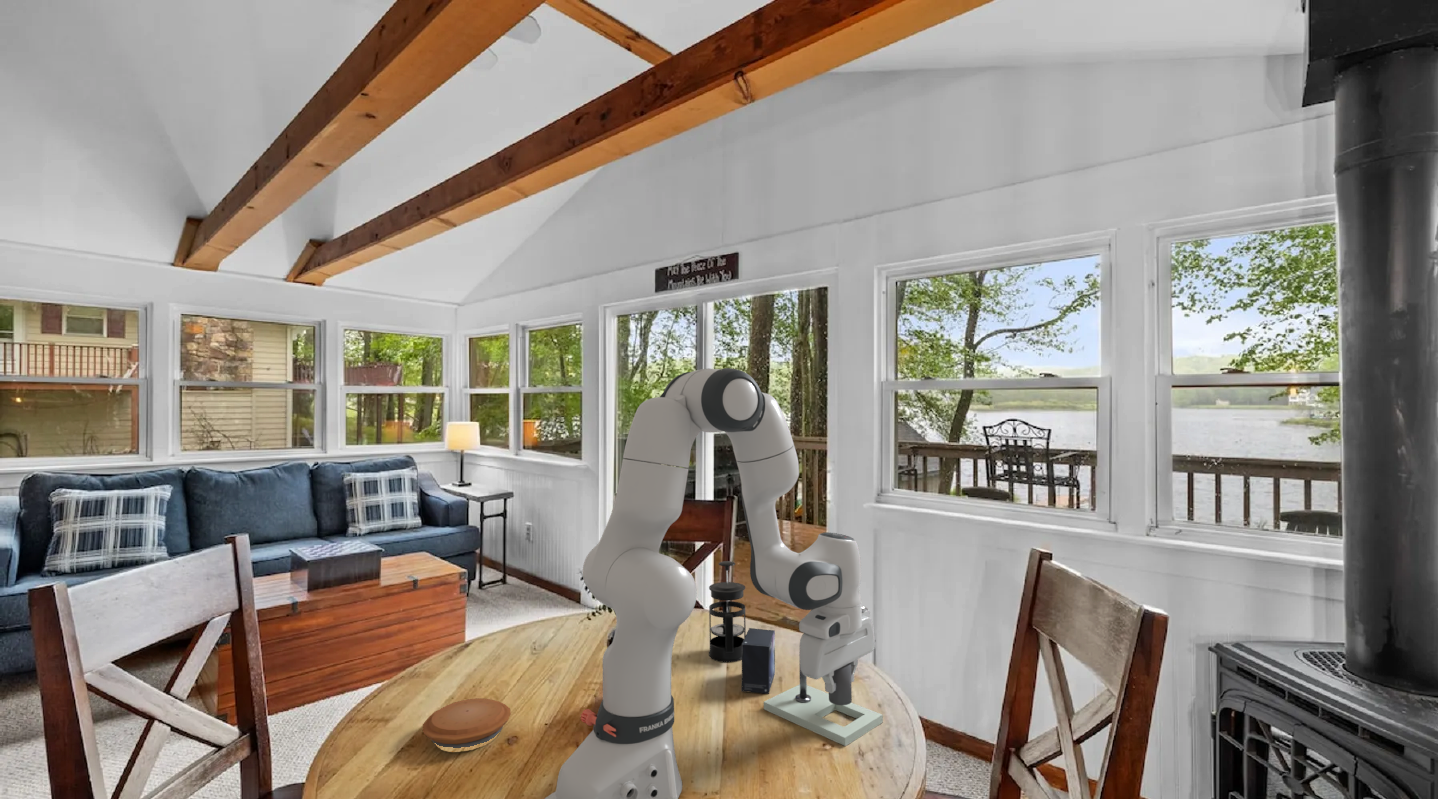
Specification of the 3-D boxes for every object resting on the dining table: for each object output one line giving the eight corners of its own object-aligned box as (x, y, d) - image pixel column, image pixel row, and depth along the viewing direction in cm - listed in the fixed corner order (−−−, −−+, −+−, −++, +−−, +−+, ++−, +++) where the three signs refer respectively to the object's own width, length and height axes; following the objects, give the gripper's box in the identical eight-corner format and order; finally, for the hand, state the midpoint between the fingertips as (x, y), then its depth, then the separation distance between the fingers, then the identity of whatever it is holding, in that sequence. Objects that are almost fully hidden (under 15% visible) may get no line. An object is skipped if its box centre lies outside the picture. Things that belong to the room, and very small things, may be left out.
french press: (708, 647, 165) (707, 557, 165) (744, 646, 166) (743, 556, 166) (709, 666, 154) (709, 569, 154) (749, 664, 154) (748, 568, 154)
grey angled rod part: (804, 704, 130) (804, 657, 130) (792, 699, 133) (791, 652, 133) (824, 694, 135) (823, 648, 135) (812, 689, 137) (811, 644, 137)
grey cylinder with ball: (824, 700, 126) (823, 661, 126) (837, 692, 129) (837, 655, 129) (843, 707, 123) (842, 668, 123) (856, 699, 126) (855, 661, 126)
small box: (770, 695, 138) (770, 645, 138) (740, 692, 139) (740, 643, 140) (776, 674, 148) (776, 628, 149) (748, 672, 150) (747, 627, 150)
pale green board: (845, 746, 117) (845, 737, 117) (763, 709, 132) (763, 701, 132) (882, 722, 126) (882, 714, 126) (802, 690, 140) (802, 683, 140)
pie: (508, 711, 132) (508, 687, 132) (513, 749, 117) (513, 721, 117) (425, 726, 126) (425, 700, 126) (419, 767, 112) (419, 738, 112)
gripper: (855, 600, 136) (856, 666, 136) (793, 625, 122) (794, 698, 122) (881, 607, 131) (883, 675, 131) (820, 633, 117) (821, 709, 117)
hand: (839, 686), depth 126 cm, fingers closed on grey cylinder with ball, 4 cm apart
